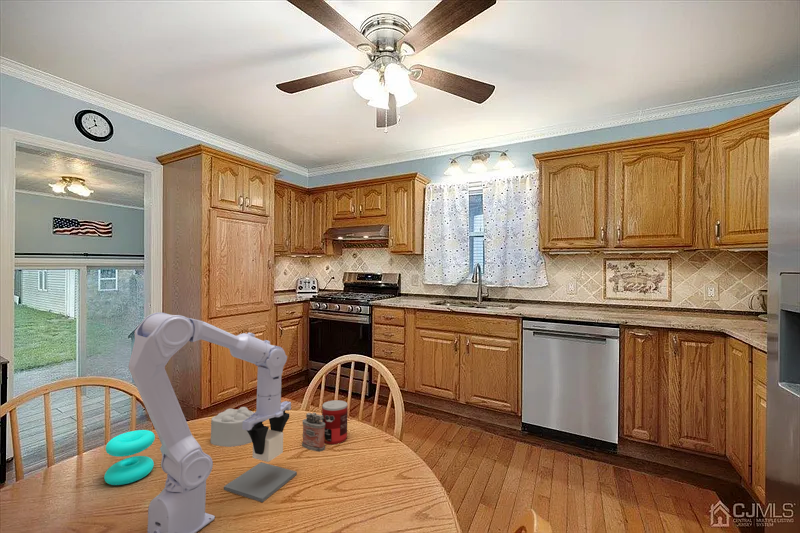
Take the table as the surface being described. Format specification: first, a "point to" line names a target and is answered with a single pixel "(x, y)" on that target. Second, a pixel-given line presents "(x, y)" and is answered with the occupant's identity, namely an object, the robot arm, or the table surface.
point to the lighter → (313, 432)
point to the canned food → (335, 421)
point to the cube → (271, 446)
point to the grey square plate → (260, 481)
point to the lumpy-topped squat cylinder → (230, 428)
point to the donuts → (131, 466)
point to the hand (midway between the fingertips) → (267, 448)
